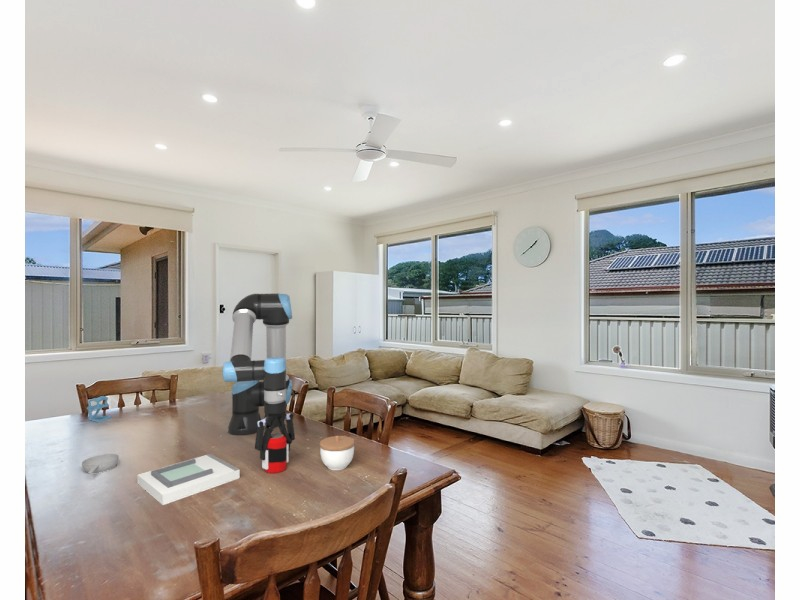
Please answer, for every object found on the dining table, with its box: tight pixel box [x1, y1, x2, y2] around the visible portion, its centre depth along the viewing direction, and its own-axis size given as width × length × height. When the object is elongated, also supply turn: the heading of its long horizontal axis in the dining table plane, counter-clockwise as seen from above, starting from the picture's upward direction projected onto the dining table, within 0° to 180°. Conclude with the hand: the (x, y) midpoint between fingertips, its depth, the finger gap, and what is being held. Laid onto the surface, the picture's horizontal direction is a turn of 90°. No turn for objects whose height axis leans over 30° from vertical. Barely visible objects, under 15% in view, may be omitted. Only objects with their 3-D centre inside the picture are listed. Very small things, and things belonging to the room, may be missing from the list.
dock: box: [137, 453, 241, 506], centre depth 137 cm, size 24×22×4 cm
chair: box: [86, 395, 112, 423], centre depth 209 cm, size 8×8×12 cm
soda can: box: [264, 432, 288, 474], centre depth 146 cm, size 8×8×12 cm
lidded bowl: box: [319, 435, 355, 471], centre depth 149 cm, size 13×13×11 cm
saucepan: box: [81, 453, 120, 474], centre depth 144 cm, size 11×18×4 cm, turn 23°
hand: (275, 464), depth 146 cm, fingers closed on soda can, 7 cm apart
